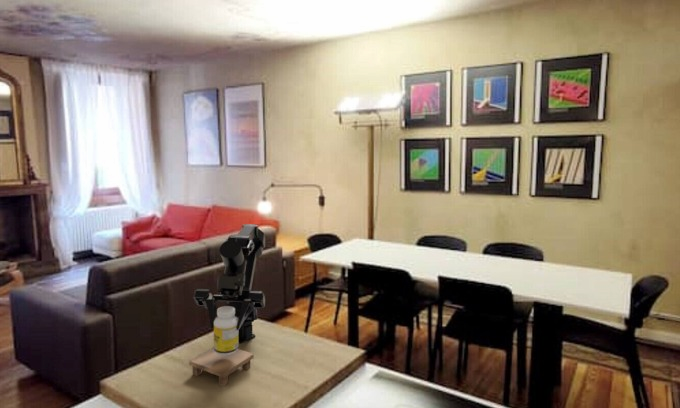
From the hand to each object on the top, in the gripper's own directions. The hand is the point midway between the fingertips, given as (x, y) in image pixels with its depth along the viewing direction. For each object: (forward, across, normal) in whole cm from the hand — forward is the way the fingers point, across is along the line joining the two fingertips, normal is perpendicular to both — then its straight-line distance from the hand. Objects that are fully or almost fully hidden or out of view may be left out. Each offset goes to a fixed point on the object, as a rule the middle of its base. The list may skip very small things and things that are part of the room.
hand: (224, 329), depth 118 cm
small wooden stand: (+8, -1, +11) cm, 13 cm away
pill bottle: (+4, 0, +6) cm, 7 cm away
